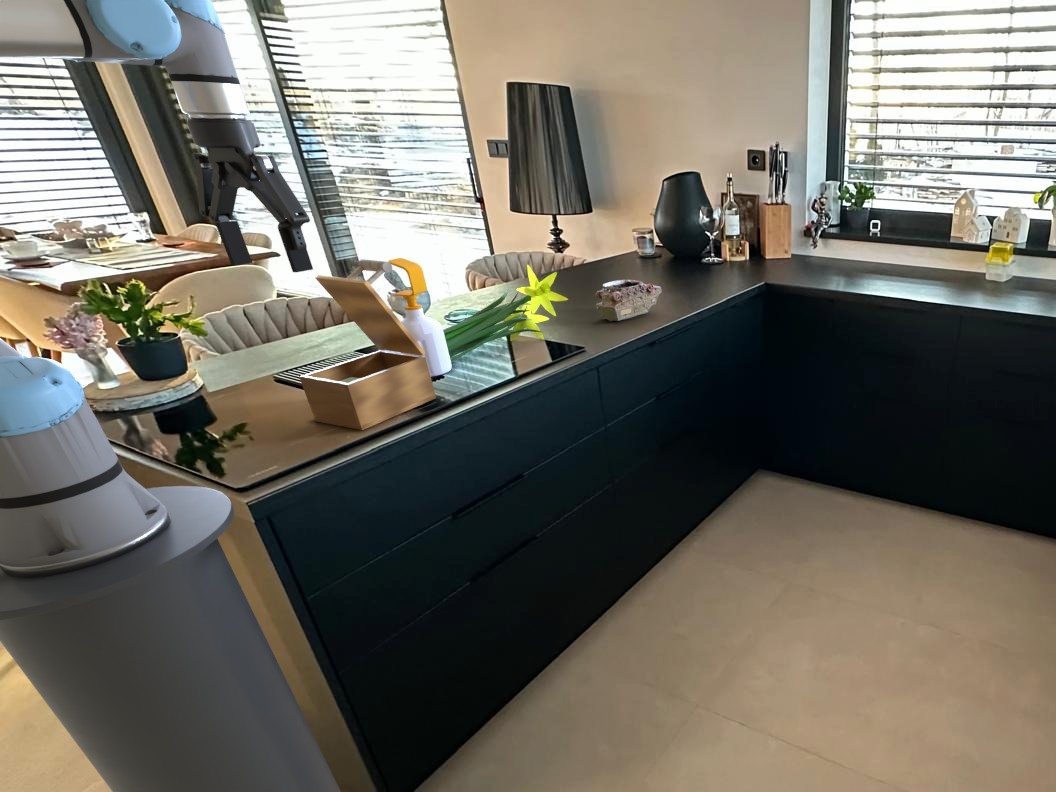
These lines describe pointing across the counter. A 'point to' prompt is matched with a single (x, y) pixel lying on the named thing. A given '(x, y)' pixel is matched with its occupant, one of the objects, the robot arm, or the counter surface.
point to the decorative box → (626, 299)
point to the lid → (371, 308)
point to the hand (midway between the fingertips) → (272, 267)
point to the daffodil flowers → (503, 317)
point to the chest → (368, 389)
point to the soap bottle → (423, 321)
